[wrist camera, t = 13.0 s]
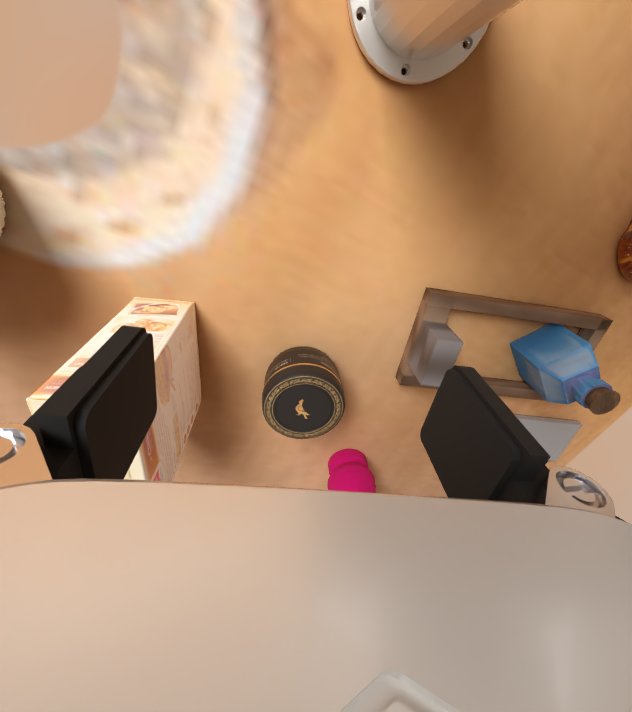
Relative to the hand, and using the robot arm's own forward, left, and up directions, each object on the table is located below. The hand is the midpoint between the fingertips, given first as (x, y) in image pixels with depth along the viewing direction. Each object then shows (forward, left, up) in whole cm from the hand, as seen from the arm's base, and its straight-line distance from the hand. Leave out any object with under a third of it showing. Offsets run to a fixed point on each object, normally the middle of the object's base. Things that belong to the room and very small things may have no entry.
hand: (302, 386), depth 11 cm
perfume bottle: (+11, +36, -31) cm, 48 cm away
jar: (+19, +4, -31) cm, 36 cm away
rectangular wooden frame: (+11, +29, -30) cm, 44 cm away
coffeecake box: (+18, -13, -31) cm, 38 cm away
